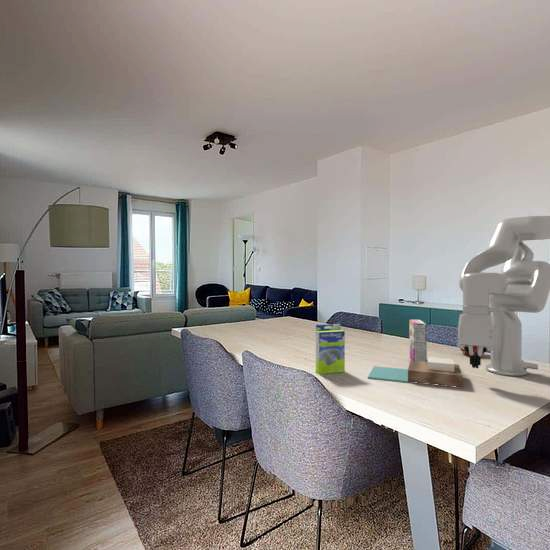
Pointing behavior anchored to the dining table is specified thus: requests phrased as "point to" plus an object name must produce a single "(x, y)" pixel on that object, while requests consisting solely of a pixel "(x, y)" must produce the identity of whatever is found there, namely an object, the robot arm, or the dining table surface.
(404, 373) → the mat
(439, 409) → the dining table surface
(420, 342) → the candy bar box
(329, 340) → the box
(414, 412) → the dining table surface
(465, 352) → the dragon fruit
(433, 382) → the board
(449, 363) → the tile
